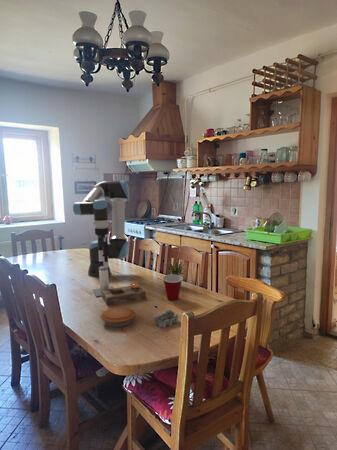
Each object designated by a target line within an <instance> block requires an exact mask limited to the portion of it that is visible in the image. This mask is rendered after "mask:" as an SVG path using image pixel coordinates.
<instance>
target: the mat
mask: <svg viewBox="0 0 337 450" xmlns="http://www.w3.org/2000/svg"><path fill="white" fill-rule="evenodd" d="M113 288H115V287H114V286H109V289H113ZM92 291H93V294H94V296H95V298H99V297H100V298H101V297H102V292H100V287H99V288H93V289H92Z"/></svg>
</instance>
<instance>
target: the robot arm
mask: <svg viewBox="0 0 337 450" xmlns="http://www.w3.org/2000/svg"><path fill="white" fill-rule="evenodd" d="M130 194H131V193H130V189H129V185H128V181H126V180H103V181H100V182H97V184H95V185H93V186H92V187H91V188H90V191H89V193H88V194H87V195H86V196H85V197H84V198H83V199H82V200H81V201H77V202H74V203H73V205H72V211H73V214H74V215H76V216H93V221H94V222H93V225H94V234H95V235H96V236H97V239H95V240H92V241H91V242H90V243H89V244H88V246H89V247H88V249H89V262H90V263H89V268H88V270H87V275H88V276H89V277H100V276H99V267H102V266H104V268H106V267H108V275H110V274H111V267H110V265H109V259H110V260H111V259H114V260H115V259H116V260H118V259H119V260H120V259H126V258H127V257H128V255H129V250H130V242H129V241H128V240H127V238H126V236H125V228H126V225H125V224H126V223H125V222H126V221H125V220H126V219H125V217H126V215H125V213H126V211H125V210H126V202H127V200H128V198H129V197H130ZM104 198H106V199H104ZM107 199H109V200H110V201H111V202H110V201H108V200H107ZM109 214H111V237H109V241H108V238H107V237H106V236H107V235H109V234H110V232H109Z"/></svg>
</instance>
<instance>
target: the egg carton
mask: <svg viewBox="0 0 337 450" xmlns="http://www.w3.org/2000/svg"><path fill="white" fill-rule="evenodd" d="M179 318H180V316H179V315H178V314H175V312H174V311H172V309H168V310H166V311H165V312H164V313H162V314H160V315H157V316H155V317H153V320H154V325H158V327H159V328H166V327H167V326H172V325H173V324H178V323H179Z"/></svg>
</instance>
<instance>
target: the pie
mask: <svg viewBox="0 0 337 450" xmlns="http://www.w3.org/2000/svg"><path fill="white" fill-rule="evenodd" d="M135 316H136V311H135V309H133V308H131V307H127V306H114V307H110V308H108V309H106V310H104V311H103V312H101V315H100V317H101V319H102V320H103V321H104V323H105V324H106V325H107V326H109V327H112V328H119V327H121V328H122V327H125V326H127V325H129V324H131V323H132V321H133V319H134V317H135Z"/></svg>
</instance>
